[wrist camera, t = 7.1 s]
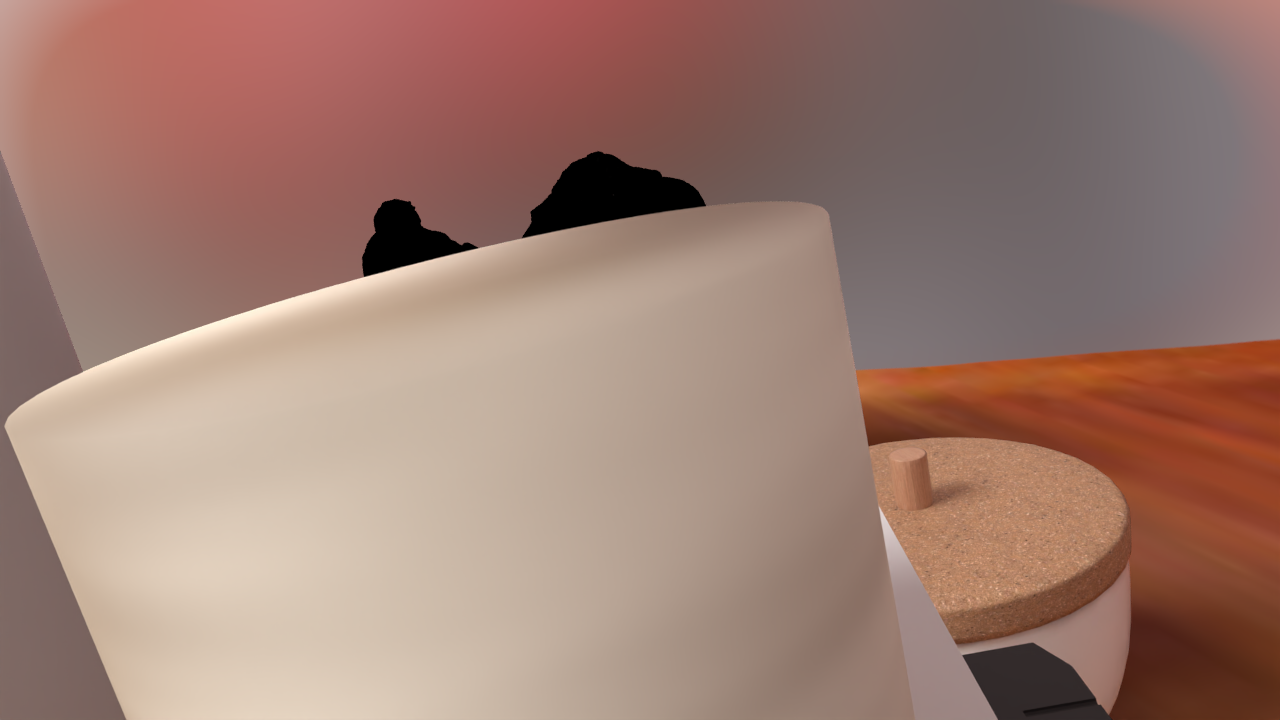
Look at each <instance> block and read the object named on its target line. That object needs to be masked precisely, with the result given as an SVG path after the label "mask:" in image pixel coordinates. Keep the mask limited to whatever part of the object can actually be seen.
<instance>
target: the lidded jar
mask: <svg viewBox="0 0 1280 720" xmlns="http://www.w3.org/2000/svg"><path fill="white" fill-rule="evenodd" d="M868 447H869V453H870V458H871V464H872V470H873V476H874V482H875V488H876V493H877V499H878V505H879V507H880V509H881V511H882V512H883V514H884V516H885V518H886V520H887V521H888V523H889V525H890V527H891V529H892V530H893V532H894V534H895V536H896V538H897V539H898V541H899V543H900V545H901V547H902V548H903V550H904V552H905V554H906V556H907V557H908V559H909V561H910V563H911V565H912V566H913V568H914V570H915V572H916V574H917V575H918V577H919V579H920V581H921V583H922V584H923V586H924V588H925V590H926V591H927V593H928V595H929V597H930V599H931V600H932V602H933V604H934V606H935V608H936V609H937V611H938V613H939V615H940V617H941V618H942V620H943V622H944V624H945V626H946V627H947V629H948V631H949V633H950V635H951V636H952V638H953V640H954V642H955V644H956V645H957V647H958V649H959V651H960V653H961V654H962V655H965V654H971V653H976V652H982V651H987V650H993V649H999V648H1004V647H1010V646H1015V645H1021V644H1026V643H1032V642H1033V643H1035V644H1037V645H1038V646H1040V647H1042V648H1043V649H1045V650H1046V651H1048V652H1050V653H1051V654H1053V655H1055V656H1056V657H1058V658H1060V659H1061V660H1063V661H1065V662H1066V663H1068V664H1070V665H1071V666H1072V667H1073V668H1074V669H1075V671H1076V672H1077V673H1078V675H1079V676H1080V677H1081V679H1082V680H1083V681H1084V683H1085V684H1086V685H1087V687H1088V688H1089V689H1090V691H1091V692H1092V693H1093V695H1094V696H1095V697H1096V701H1097V703H1098V705H1100V704H1101V705H1102V707H1103V708H1104V709H1105V711H1106V712H1107V713H1108V715H1109V714H1110V712H1111V709H1112V707H1113V705H1114V703H1115V701H1116V698H1117V696H1118V693H1119V689H1120V686H1121V683H1122V680H1123V675H1124V670H1125V666H1126V661H1127V657H1128V652H1129V640H1130V628H1131V589H1130V568H1129V557H1130V554H1131V519H1130V510H1129V507H1128V504H1127V502H1126V499H1125V497H1124V495H1123V494H1122V492H1121V491H1120V490H1119V489H1118V488H1117V486H1116V485H1115V484H1114V483H1113V482H1112V480H1111V479H1110V478H1108V477H1107V476H1106V475H1104V474H1103V473H1102V472H1100V471H1099V470H1097V469H1096V468H1095V467H1093V466H1091V465H1089V464H1087V463H1085V462H1083V461H1082V460H1080V459H1078V458H1075V457H1072V456H1070V455H1067V454H1064V453H1061V452H1058V451H1055V450H1051V449H1048V448H1044V447H1040V446H1036V445H1032V444H1026V443H1020V442H1013V441H1006V440H996V439H987V438H926V439H915V440H905V441H897V442H889V443H882V444H877V445H873V446H868Z"/></svg>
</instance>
